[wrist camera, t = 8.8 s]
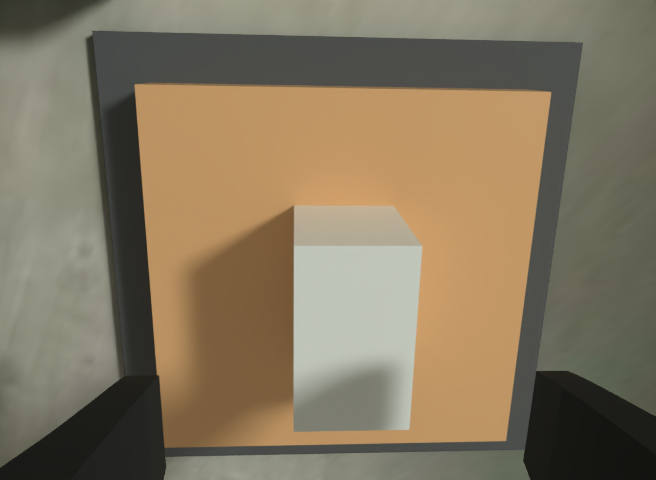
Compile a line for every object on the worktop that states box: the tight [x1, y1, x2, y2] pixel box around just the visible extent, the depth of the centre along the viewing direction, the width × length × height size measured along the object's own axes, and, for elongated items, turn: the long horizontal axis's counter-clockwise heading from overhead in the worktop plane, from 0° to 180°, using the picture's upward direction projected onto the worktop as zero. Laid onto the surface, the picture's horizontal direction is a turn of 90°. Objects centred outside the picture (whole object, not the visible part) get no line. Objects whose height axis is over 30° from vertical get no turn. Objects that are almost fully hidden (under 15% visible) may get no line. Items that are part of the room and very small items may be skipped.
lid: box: [135, 83, 551, 448], centre depth 17 cm, size 12×12×6 cm
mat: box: [92, 31, 583, 457], centre depth 20 cm, size 15×15×1 cm
